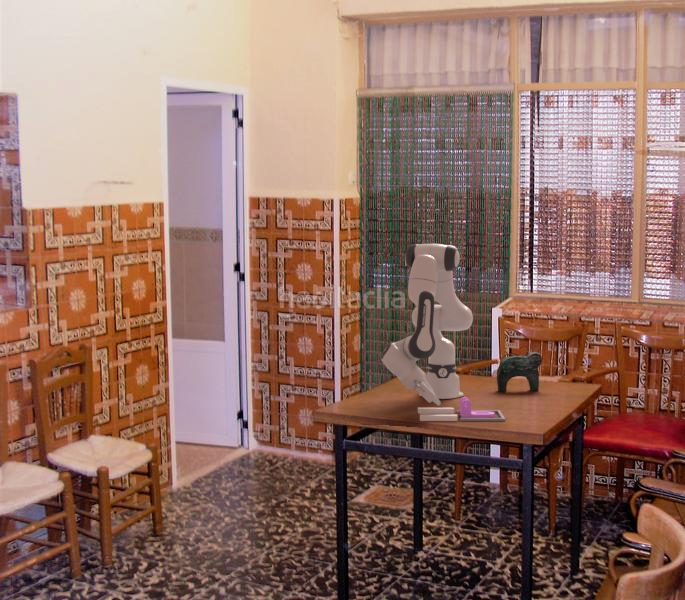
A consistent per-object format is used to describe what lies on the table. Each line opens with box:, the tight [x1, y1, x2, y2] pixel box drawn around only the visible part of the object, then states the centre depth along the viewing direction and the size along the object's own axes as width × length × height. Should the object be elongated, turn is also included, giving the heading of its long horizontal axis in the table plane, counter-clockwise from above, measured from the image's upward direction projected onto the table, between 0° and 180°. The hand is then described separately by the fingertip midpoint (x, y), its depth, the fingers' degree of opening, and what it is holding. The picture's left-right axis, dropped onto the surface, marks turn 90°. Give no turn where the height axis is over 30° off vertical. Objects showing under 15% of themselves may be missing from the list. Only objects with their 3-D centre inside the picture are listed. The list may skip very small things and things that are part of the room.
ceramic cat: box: [496, 344, 543, 393], centre depth 427 cm, size 20×6×20 cm, turn 97°
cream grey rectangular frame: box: [417, 407, 506, 422], centre depth 376 cm, size 15×32×2 cm, turn 89°
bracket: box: [459, 396, 496, 418], centre depth 378 cm, size 13×6×7 cm, turn 89°
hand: (439, 403), depth 376 cm, fingers closed
